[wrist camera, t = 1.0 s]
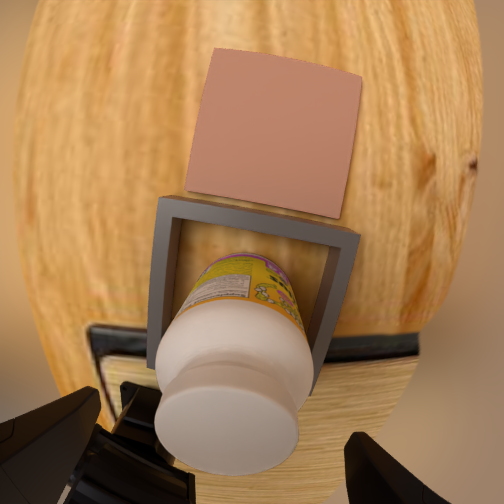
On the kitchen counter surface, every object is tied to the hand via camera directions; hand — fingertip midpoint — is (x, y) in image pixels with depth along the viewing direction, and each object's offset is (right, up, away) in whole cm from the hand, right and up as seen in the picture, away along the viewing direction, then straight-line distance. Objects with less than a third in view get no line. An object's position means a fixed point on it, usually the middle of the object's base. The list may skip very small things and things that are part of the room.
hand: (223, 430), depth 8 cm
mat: (+2, +14, +9) cm, 17 cm away
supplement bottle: (0, +3, +12) cm, 13 cm away
